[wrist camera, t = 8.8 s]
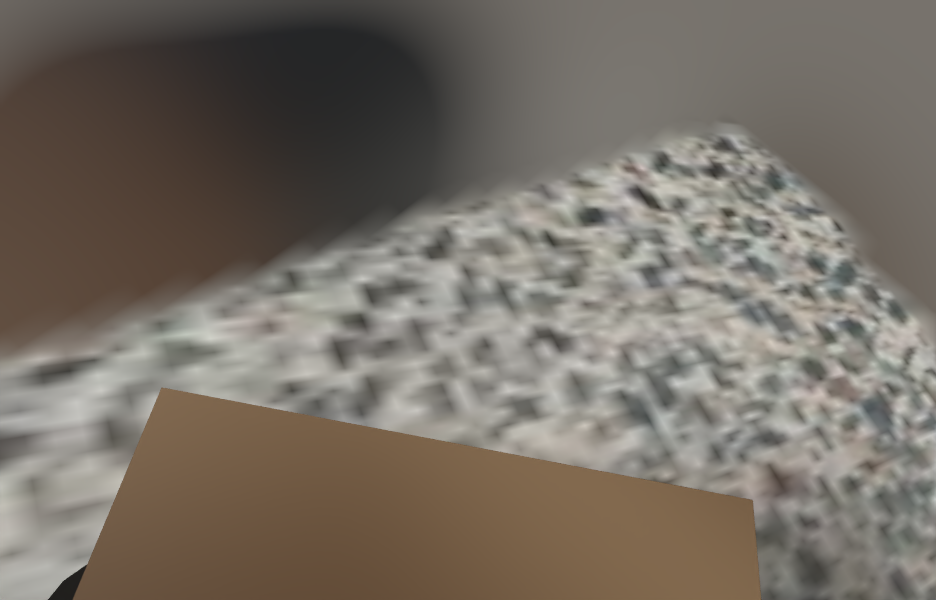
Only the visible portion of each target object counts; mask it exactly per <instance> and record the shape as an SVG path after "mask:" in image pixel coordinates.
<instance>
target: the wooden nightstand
mask: <svg viewBox="0 0 936 600" xmlns="http://www.w3.org/2000/svg"><path fill="white" fill-rule="evenodd" d="M73 600H761V591H760V580H759V568H758V557H757V545H756V533H755V522H754V510H753V500H750V499H745V498H739V497H734V496H729V495H724V494H718V493H713V492H708V491H703V490H697V489H692V488H687V487H682V486H676V485H671V484H666V483H661V482H655V481H650V480H645V479H640V478H634V477H629V476H624V475H619V474H613V473H608V472H603V471H598V470H592V469H587V468H582V467H577V466H571V465H566V464H561V463H556V462H550V461H545V460H540V459H535V458H529V457H524V456H519V455H514V454H508V453H503V452H498V451H493V450H487V449H482V448H477V447H472V446H466V445H461V444H456V443H451V442H445V441H440V440H435V439H430V438H424V437H419V436H414V435H409V434H403V433H398V432H393V431H388V430H382V429H377V428H372V427H367V426H361V425H356V424H351V423H346V422H340V421H335V420H330V419H325V418H319V417H314V416H309V415H304V414H298V413H293V412H288V411H283V410H277V409H272V408H267V407H262V406H256V405H251V404H246V403H241V402H235V401H230V400H225V399H220V398H214V397H209V396H204V395H199V394H193V393H188V392H183V391H178V390H172V389H167V388H161V390H160V393H159V395H158V398H157V400H156V402H155V405H154V407H153V410H152V412H151V414H150V417H149V419H148V421H147V424H146V426H145V429H144V431H143V433H142V436H141V438H140V440H139V443H138V445H137V448H136V450H135V452H134V455H133V457H132V460H131V462H130V464H129V467H128V469H127V471H126V474H125V476H124V479H123V481H122V483H121V486H120V488H119V490H118V493H117V495H116V498H115V500H114V502H113V505H112V507H111V510H110V512H109V514H108V517H107V519H106V521H105V524H104V526H103V529H102V531H101V533H100V536H99V538H98V540H97V543H96V545H95V548H94V550H93V552H92V555H91V557H90V560H89V562H88V564H87V567H86V569H85V571H84V574H83V576H82V579H81V581H80V583H79V586H78V588H77V590H76V593H75V595H74V598H73Z"/></svg>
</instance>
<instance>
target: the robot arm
mask: <svg viewBox="0 0 936 600" xmlns="http://www.w3.org/2000/svg"><path fill="white" fill-rule="evenodd" d="M86 567H87V565H86V566H84V567H83V568H81V569H80V570H78V571H77V572H76V573H74V574H73V575H71V576H70V577H68V578H67V579H66V580H64V581H63V582H62V583H61V584H60V586H59V587H58V588H57V589H56V591H55V592H54V593H53V594H52V595H51V597H50V598H49V599H48V600H73V598H74V595H75V593H76V590H77V588H78V586H79V583H80V581H81V579H82V576H83V574H84V571H85V569H86Z"/></svg>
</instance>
